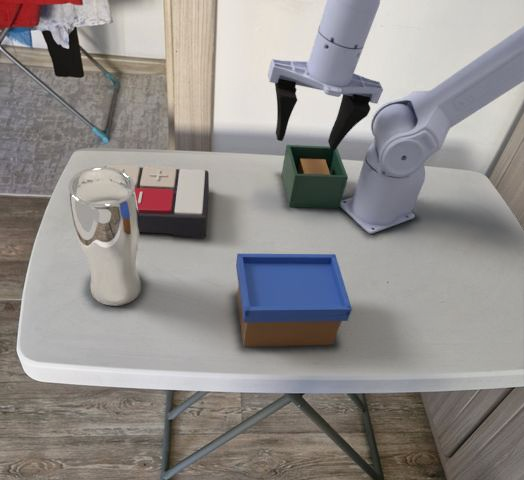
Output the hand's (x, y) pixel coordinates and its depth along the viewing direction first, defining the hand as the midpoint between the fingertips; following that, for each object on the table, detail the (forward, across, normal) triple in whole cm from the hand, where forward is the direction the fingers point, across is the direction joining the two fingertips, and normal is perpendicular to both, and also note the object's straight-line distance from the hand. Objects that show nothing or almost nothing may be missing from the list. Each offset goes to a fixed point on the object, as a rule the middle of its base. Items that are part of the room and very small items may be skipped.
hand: (305, 141), depth 72 cm
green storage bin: (+10, +4, +3) cm, 12 cm away
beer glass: (+14, -24, -18) cm, 33 cm away
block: (+10, +4, +3) cm, 11 cm away
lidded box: (+11, -3, -23) cm, 26 cm away
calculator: (+13, -19, -2) cm, 23 cm away
